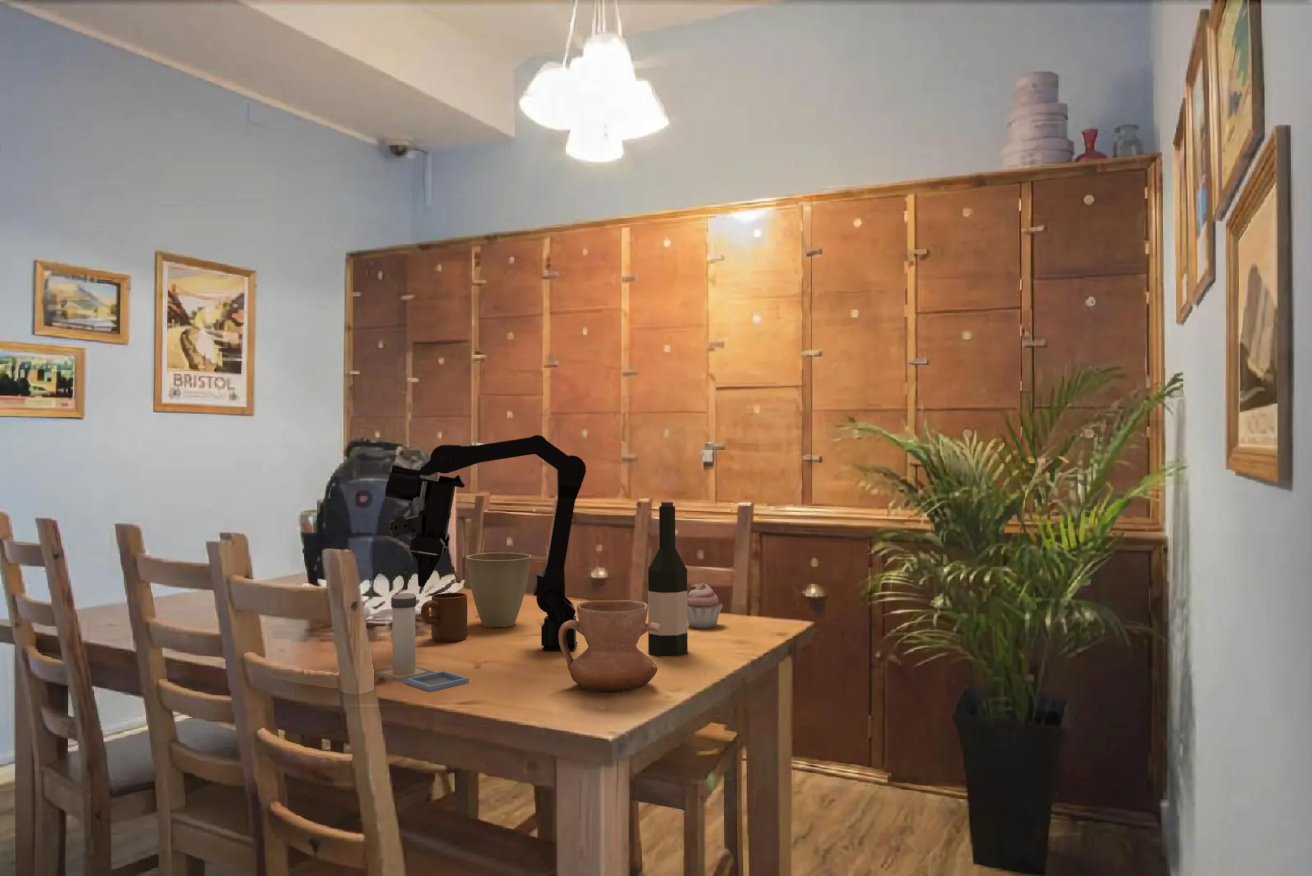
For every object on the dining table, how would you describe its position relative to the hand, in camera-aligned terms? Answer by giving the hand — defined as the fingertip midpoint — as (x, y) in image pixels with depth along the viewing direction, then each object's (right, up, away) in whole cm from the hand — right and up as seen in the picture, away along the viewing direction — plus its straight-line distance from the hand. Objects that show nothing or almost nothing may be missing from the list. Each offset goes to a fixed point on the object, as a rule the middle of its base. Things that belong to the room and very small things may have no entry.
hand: (423, 583), depth 181 cm
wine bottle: (+49, -14, 0) cm, 51 cm away
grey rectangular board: (+5, -14, -21) cm, 25 cm away
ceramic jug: (+39, -14, -26) cm, 49 cm away
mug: (+1, -14, +11) cm, 18 cm away
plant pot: (+10, -14, +28) cm, 33 cm away
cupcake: (+57, -14, +26) cm, 64 cm away
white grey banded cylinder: (+1, -13, -17) cm, 21 cm away
